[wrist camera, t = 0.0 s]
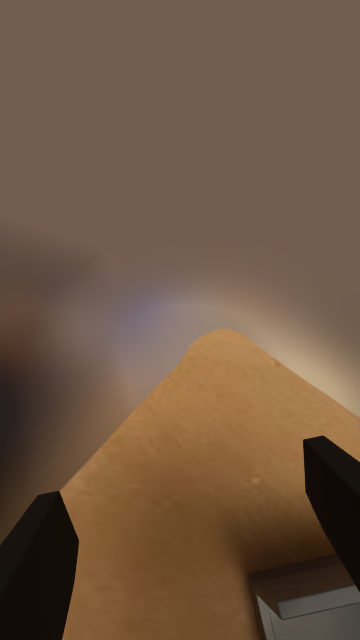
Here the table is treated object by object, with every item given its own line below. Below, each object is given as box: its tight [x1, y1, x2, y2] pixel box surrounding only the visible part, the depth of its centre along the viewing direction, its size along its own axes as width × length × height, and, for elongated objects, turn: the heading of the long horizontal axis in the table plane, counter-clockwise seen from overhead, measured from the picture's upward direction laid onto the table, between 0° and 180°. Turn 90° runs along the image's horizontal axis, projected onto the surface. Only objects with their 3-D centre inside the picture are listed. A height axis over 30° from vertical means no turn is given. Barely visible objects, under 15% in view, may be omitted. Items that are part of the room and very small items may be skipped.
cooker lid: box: [254, 563, 360, 620], centre depth 23 cm, size 13×12×1 cm
